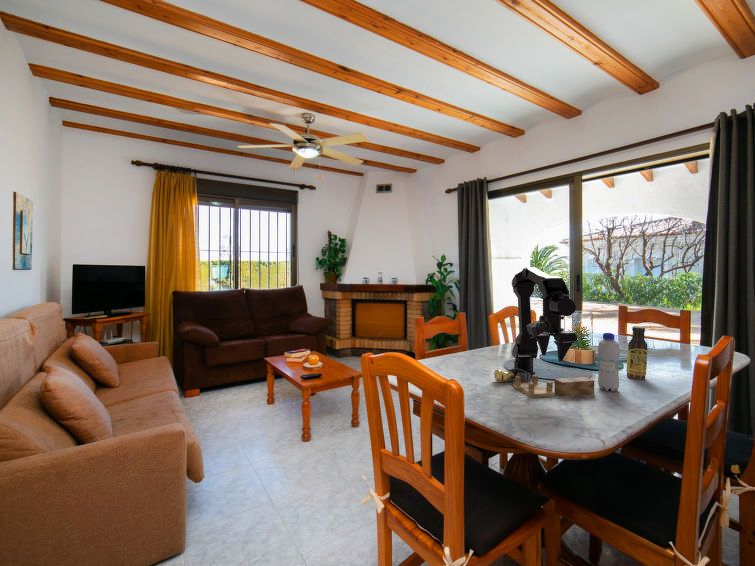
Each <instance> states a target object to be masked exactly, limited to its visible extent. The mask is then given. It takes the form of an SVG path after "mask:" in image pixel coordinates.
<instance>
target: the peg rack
mask: <svg viewBox="0 0 755 566" xmlns="http://www.w3.org/2000/svg"><path fill="white" fill-rule="evenodd" d="M531 375H532V377H531V380H532V381H530V382H526V383H521V377H519V376H515V379H514V382H515V383H513V384H512V385H513V388H515V389H516V390H519V391H521V392H522V393H523V394H525V395H527V396H529V397H530V398H533V399H536V398H546V397H550V398H551V397H556V393H555V392H554V390H553V386H554V383H553V381H550V380H548V381H546V387H544V386H542V385H540V384H539V375H537V374H531Z"/></svg>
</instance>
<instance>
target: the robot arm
mask: <svg viewBox="0 0 755 566" xmlns="http://www.w3.org/2000/svg"><path fill="white" fill-rule="evenodd" d="M536 285H537V288H538V290H539V292H541V294H542V295H541V297H540V299H541V300H542V314H541V315H539V317H538V320H536V321H533V322H532V311H531V309H532V308H531V297H532V295H533V293H534V292H535V287H536ZM511 286H512V292H513V293H514V294H515V296H516V297H517V309H518V310H517V311H518V334H517V336H516V338H515V342H514V343H515V344H514V345H513V347H512V349H511V357H513V358H514V362H513V363H514V365H513V366H514V367H513V368H520V369H522V370H525V371H527V372H529V373H530V375H535V374H536V372H535V371H534V359H537V358H538V353H539V351H540V354H541V355H542V356H546V354H547V351H548V347H549V344H550V339H551V337H553V339H554V340H553V343H554V344H555V345H556V347H557V348H556V349H557V360H558V361H559V362H563V360H564V359H565V357H566V355H567V353H568V352H569V350H570V348H571V347H572V346H573V344H575V343H576V342H578V337H579V336H578V334H577V333H576V332H574V331H569V330H568V331H567V330H566V331H565V328H563V327H562V320H565V317H571V316H572V315H573V314H574V313H575V312H576V308H577V307H576V303H575V302H574V300H573V299H571V298H570V297H571V295H570V290H569V288H568V287H567V284H566V282H565V280H564V278H563V277H562V276H557V275H549V274H547V273H545V272H543V271H541V270H540V269H538V267H536V266H535V267H533V266H532V267H528V266H527V267H523V268H522V270H521V271H519V272H518V273H516V274H515V275H513V278H512V280H511ZM534 373H535V374H534Z"/></svg>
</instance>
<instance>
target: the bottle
mask: <svg viewBox="0 0 755 566" xmlns="http://www.w3.org/2000/svg"><path fill="white" fill-rule="evenodd" d="M620 349H621V348H620V343H619V342H618V341H615V334H614V333H612V332H603V334H602V340H599V341H598V346H597V355H598V377H597V384H598V387H599V388H600V390H602V391H603V390H605V391H606V392H608V391H609V390H610V391H611V392H616V391H618V390H619V388H620V376H619V369H620V368H619V367H620V366H619V361H620V355H621V350H620Z"/></svg>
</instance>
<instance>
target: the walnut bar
mask: <svg viewBox="0 0 755 566" xmlns="http://www.w3.org/2000/svg"><path fill="white" fill-rule="evenodd" d="M553 392H555V395H558V396H560V397H562V398H564V397H577V396H579V397H580V396H592V395H595V379H593V378H590V377H587V376H580V377H565V378H554V390H553Z"/></svg>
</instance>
